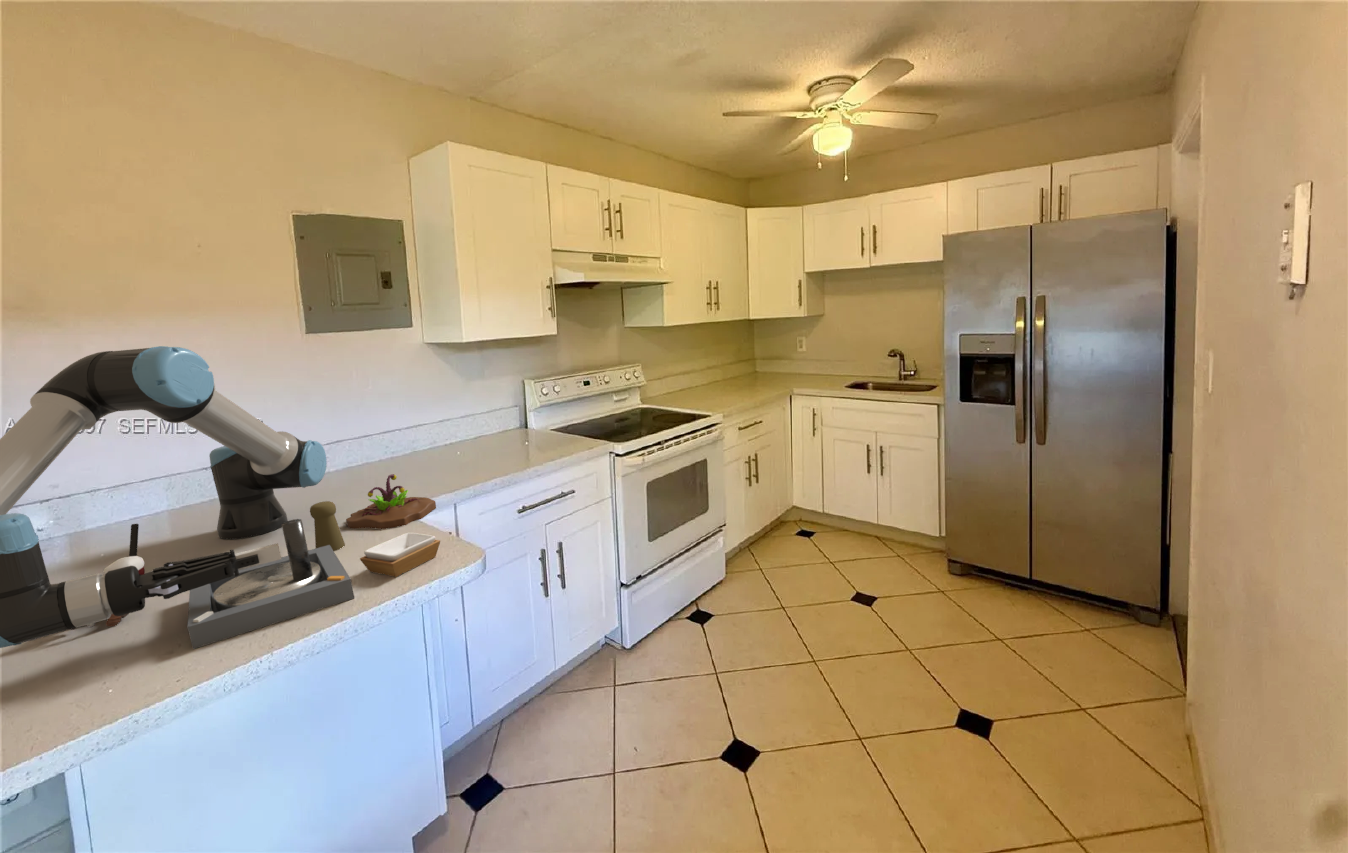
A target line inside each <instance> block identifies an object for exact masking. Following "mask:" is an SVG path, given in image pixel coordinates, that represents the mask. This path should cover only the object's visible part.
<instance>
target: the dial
mask: <svg viewBox="0 0 1348 853" xmlns="http://www.w3.org/2000/svg"><path fill="white" fill-rule="evenodd" d="M303 525H304V524H303V520H302V519H300V518H297V519H290V520H288V521H287V522H284V523H282V527H281V529H282V532H283V537H284V542H285V547H286V550H287V551H286V552H287V556H289V561H290V562H287V563H281V564H276V565H271V566H267V567H263V568H260V569H257V570H254V571H250V572H248V573H245V574H243V575H240V576H238V577H236V578H233V579H231V580H229V581H228V582H226V583H224V584H223V585H221V586H220V587H219V588H218V589H216V591H215V592H214V595H213V596H214V600H215V605H216V608H217V609H218V610H221V611H222V610H226V609H229V608H233V607H236V606H240V605H243V604H246V603H250V602H253V601H257V600H260V599H264V598H267V597H270V596H274V595H277V594H281V593H284V592H288V591H291V590H294V589H298V588H301V587H305V586H308V585H312V584H315V583H319V582H320V581H321V579H322V574H321V570H320V566H319V565H318V564H317V563H314V562H310V558H309V553H308V550H309V549H308V543H307V539H306V536H305V534H306V533H305V530H304V529H305V528H304V526H303Z"/></svg>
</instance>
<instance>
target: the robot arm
mask: <svg viewBox="0 0 1348 853" xmlns="http://www.w3.org/2000/svg"><path fill="white" fill-rule="evenodd" d="M209 368H210V366H209V364H208V362H207V361H206V360H205V359H204V357H202V356H201V355H199V354H198V353H196V352H195V351H192V350H191V349H188V348H185V347H179V346H163V345H162V346H152V347H146V348H135V349H134V348H132V349H124V350H122V349H121V350H107V351H99V352H96V353H92V354H89V355H86V356H84V357H82V358H80V359H78V360H76V361H74V362H73V363H71V364H70V365H68V366H66V367H64V368H63V369H62V370H60V371H59V372H58V373H57V374H55V375H54V376H53V377H52V378H51V379H49V380H48V381H47V382H46V383H45V384H44V385H43V386H41V388H39V389H38V391H37V392H36V393H34V394H33V395H32V396H31V398H30V400H29V403H30V406H31V407H30V408H29V409H28V410H27V412H25V413H24V415H23V416H22V417H21V418H20V419H19V420H18V421H17V422H16V423H15V424H14V425H13V426H12V427H10V428H9V429H8V431H7V432H6V433H4V435H2V437H1V438H0V649H3V648H6V647H11V646H19V645H22V644H23V643H28V642H30V641H35V640H38V639H41V638H44V637H48V636H50V635H55V634H58V633H61V632H65V631H69V630H71V629H72V630H74V629H73V628H75V629H77V628H80V627H83V626H87V628H92V627H94V626H95V625H96V623H98V622H101V621H105V620H106V621H107V620H108V619H109V618H110V616H111V614H114V615H115V616H122V615H125V614H128V615H129V614H132V613H135V612H139V611H142V610H143V609H145V607H146V599H147V598H154V597H162V598H163V600H168V599H171V598H174V597H175V596H178V595H180V594H183V593H186V592H190V590H192V589H195V588H198V587H201V586H204V585H207V584H210V583H213V582H216V581H219V580H222V579H225V578H228V577H232V576H234V573H235V577H236V576H238V575H239V571H238V569H239V570H242V569H246V568H249V567H253V566H257V565H261V564H265V563H268V562H272V561H276V560H280V559H281V557H282V554H281V550H280V546H279V543H278V542H276V543H273V544H270V545H265V546H261V547H257V548H253V549H248V550H246V551H245V550H244V551H240V552H237V553H235V550H234V549H229V551H225V552H222V553H221V552H220V553H215V554H210V555H205V556H200V557H195V558H190V559H185V560H178V561H167V562H165V563H164V564H163V566H160V567H155V568H153V569H152V570H151V571H149V572H145V574H142V575H141V574H139V572H138V569H137V568H136V567H135V566H128V567H124V568H119V569H115V570H111V571H108V572H107V573H106V574H104V575H103V574H102V573H99V572H98V573H95V574H91V575H86V576H83V577H78V578H74V579H73V578H72V579H70V580H66V581H61V582H58V583H51V581H50V578H49V574H48V572H47V567H46V564H45V561H44V556H43V553H42V550H41V546H40V542H39V540H40V539H39V535H37V532H36V531H35V528H34V526H33V523H32V521H31V518H30V517H29V516H28V515H26V514H24V513H18V512H17V513H16V512H15V513H9V511H10V510H11V509H12V508H13V507H14V506H15V505H16V504H17V502H18V501H19V500H20V499H21V498H22V497H23V496H24V494H25V493H27V491H28V490H29V489H30V488H31V487H32V486H33V484H35V483H36V481H37V480H38V479H39V478H40V476H41V475H43V473H44V472H45V471H46V470H47V468H48V467H49V466H51V464H52V463H53V462H54V461H55V460H56V459H57V457H58V456H59V455H60V454H61V453H62V452H63V451H64V450H65V448H66V447H67V446H68V445H69V444H70V443H71V442H72V441H73V440H74V438H75V437H77V436H78V434H79V432H81V431H83V430H89V429H91V428H93V427H94V426H95V425H96V424H97V423H98V421H100V419H102V418H104V417H105V416H107V415H110V414H113V413H116V412H125V411H146V412H149V413H151V414H152V415H154V416H156V417H158V418H160V419H161V420H163V421H165V422H168V423H171V424H178V423H179V424H181V423H184V424H186V425H188V426H190V427H191V428H193V429H195V430H196V431H198V432H200V433H202V434H203V435H205V436H207V437H209V438H211V439H212V440H214V441H215V442H218V443H219V444H221V445H223V446H220V447H216V448H214V449H212V450H211V451H210V452H209V462H210V467H209V468H210V469H211V470H210V471H211V473H212V477H213V481H214V485H215V489H216V493H217V498H218V501H219V506H220V507H219V508H220V509H219V515H218V519H217V520H218V521H217V527H216V531H217V535H218V538H220V539H221V540H239V539H245V538H251V537H254V536H261V535H263V534H266V533H270V532H273V531H276V530H279V529H280V528H282V523H284V522H287V521H289V519H288V516H287V512H286V511H285V509H284V507H283V506H282V505H281V504H280V501H278V499H277V497H276V496H275V493H274V490H276V489H277V490H279V489H295V488H302V489H305V488H307V487H315V486H316V485H318V484H319V483H321V481H322V480H323V478H324V477H325V474H326V472H327V471H326V470H327V453H326V450H325V448H324V446H323V445H322V443H320V442H319V441H317V440H311V439H310V440H309V439H308V440H307V441H304V440H301V439H299V438H298V437H296V436H295V435H293V434H292V433H289V432H287V431H283V430H282V431H276V430H274V429H273V428H271V427H270V426H269V425H267V424H265V423H264V422H263V421H262V420H259V419H258V418H257V417H255V416H254V415H252V414H251V413H250V412H248V411H247V410H245V409H243V408H242V407H240V406H239V405H238V404H236V403H234V402H233V401H231V400H230V399H228V398H227V397H226V396H225V395H223V394H222V393H220V392H219V391H218V390H216V384H215V378H214V375H213V372H212V371H209Z"/></svg>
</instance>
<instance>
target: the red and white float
mask: <svg viewBox="0 0 1348 853" xmlns="http://www.w3.org/2000/svg"><path fill="white" fill-rule="evenodd" d="M139 526H140V525H139V523H131V525H130V537H129V538H130V539H129V555H128V556H125V557H121V558H118V559H116V560H115V561H114V562H112V563H110V564H109V565H107V566H106V567H105V568H104V569H103V571H102V573H103V574H104V575H105V574H106V573H107V572H108V571H111V570H115V569H119V568H124V567H128V566H135V567H136V568H137V569H138V572H139V574H141V575H142V574H145V573H146V572H145V571H146V570H145V561H144V559H143V557H141V556H138V545H139V544H138V543H139V541H138V540H139Z"/></svg>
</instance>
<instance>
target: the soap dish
mask: <svg viewBox="0 0 1348 853" xmlns="http://www.w3.org/2000/svg"><path fill="white" fill-rule="evenodd" d="M440 544H441V540H439V539H436V536H434V535H431V534H426V533H417V532H406V533H403V534H400V535H398V536H396V537H393V538H391V539H388V540H386V541H384V542H381V543H379V544H377V545H374V546H372V547H369V548H368V549H365V550H364V552H363V553H364V556H362V557H360V558H359V560H360V561H361V563H362V564H363V565H364V567H366V569H367V570H368V571H369V572H370V573H374V574H380V575H384V574H385V575H384V576H389V577H395V578H396V577H399V576H400V575H403V574H405V573H406V572H409V571H410V570H412V568H413V569H414V568H416V567H418V566H420V565H422V564H425V563H426V562H428V561H430V560H432V558H433V559H435V558H436V556H437V554H438V550H439V546H440ZM402 573H403V574H402Z"/></svg>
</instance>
